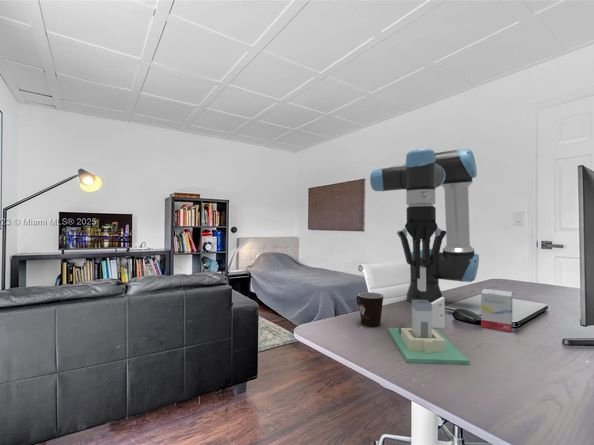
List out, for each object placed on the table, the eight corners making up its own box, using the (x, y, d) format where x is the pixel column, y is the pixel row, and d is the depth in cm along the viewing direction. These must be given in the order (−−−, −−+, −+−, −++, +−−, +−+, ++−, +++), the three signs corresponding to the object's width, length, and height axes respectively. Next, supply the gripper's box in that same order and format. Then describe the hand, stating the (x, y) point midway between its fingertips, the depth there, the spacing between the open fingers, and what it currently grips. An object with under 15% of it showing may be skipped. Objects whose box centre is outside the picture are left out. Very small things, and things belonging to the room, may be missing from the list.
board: (387, 331, 97) (387, 318, 97) (435, 332, 95) (435, 319, 95) (407, 362, 75) (406, 346, 75) (469, 364, 73) (469, 348, 73)
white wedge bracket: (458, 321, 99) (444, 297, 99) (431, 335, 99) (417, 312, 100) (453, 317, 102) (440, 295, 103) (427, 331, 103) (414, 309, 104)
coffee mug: (386, 328, 99) (386, 298, 99) (360, 328, 99) (360, 298, 99) (377, 317, 111) (377, 290, 111) (354, 317, 111) (354, 290, 111)
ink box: (512, 332, 94) (511, 295, 94) (480, 327, 100) (480, 291, 100) (512, 325, 101) (512, 290, 101) (483, 320, 106) (483, 287, 107)
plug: (412, 341, 85) (411, 299, 85) (426, 342, 85) (426, 299, 85) (417, 348, 81) (416, 304, 81) (432, 348, 80) (432, 304, 80)
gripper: (400, 205, 80) (401, 293, 80) (450, 204, 79) (451, 293, 79) (393, 207, 88) (394, 287, 88) (439, 206, 87) (440, 287, 87)
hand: (421, 290), depth 83 cm, fingers closed
